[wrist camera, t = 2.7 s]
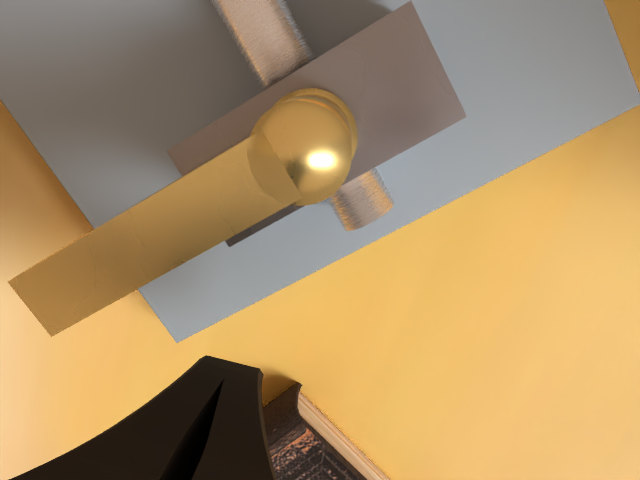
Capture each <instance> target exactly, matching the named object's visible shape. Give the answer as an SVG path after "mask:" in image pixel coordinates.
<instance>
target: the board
mask: <svg viewBox="0 0 640 480" xmlns="http://www.w3.org/2000/svg"><path fill="white" fill-rule="evenodd" d="M409 1H410V0H285V2H286V4H287V6H288V7H289V9H290V11H291V13H292V15H293V17H294V18H295V20H296V22H297V24H298V26H299V28H300V29H301V31H302V33H303V35H304V37H305V39H306V40H307V42H308V44H309V46H310V48H311V50H312V51H313V53H314V55H315V57H316V58H318V57H319V56H321V55H323V54H324V53H326V52H328V51H329V50H331V49H332V48H334V47H336V46H337V45H339V44H341V43H342V42H344V41H345V40H347V39H349V38H350V37H352V36H354V35H355V34H357V33H358V32H360V31H362V30H363V29H365V28H367V27H368V26H370V25H371V24H373V23H375V22H376V21H378V20H380V19H381V18H383V17H384V16H386V15H388V14H389V13H391V12H393V11H394V10H396V9H397V8H399V7H401V6H402V5H404V4H406V3H407V2H409ZM411 1H412V3H413V5H414V7H415V9H416V12H417V14H418V16H419V18H420V20H421V22H422V24H423V26H424V28H425V30H426V32H427V34H428V36H429V39H430V41H431V43H432V45H433V47H434V49H435V51H436V53H437V55H438V57H439V59H440V61H441V63H442V66H443V68H444V70H445V72H446V74H447V76H448V78H449V80H450V82H451V84H452V86H453V88H454V90H455V93H456V95H457V97H458V99H459V101H460V103H461V105H462V107H463V109H464V111H465V113H466V115H467V117H466V118H464V119H462V120H460V121H458V122H457V123H455V124H453V125H451V126H449V127H448V128H446V129H444V130H442V131H440V132H438V133H437V134H435V135H433V136H431V137H429V138H428V139H426V140H424V141H422V142H420V143H418V144H417V145H415V146H413V147H411V148H409V149H407V150H406V151H404V152H402V153H400V154H398V155H397V156H395V157H393V158H391V159H389V160H387V161H386V162H384V163H382V164H380V165H378V166H377V167H376V169H377V171H378V172H379V174H380V176H381V178H382V180H383V182H384V183H385V185H386V187H387V189H388V191H389V193H390V194H391V196H392V198H393V200H394V202H395V203H394V205H393V207H392V208H391V209H390V210H389V211H388V212H387V213H385V214H384V215H383V216H381V217H380V218H378V219H377V220H375V221H373V222H372V223H370V224H368V225H366V226H364V227H361V228H359V229H356V230H352V231H345V230H344V228H343V226H342V225H341V223H340V221H339V220H338V218H337V216H336V214H335V213H334V211H333V209H332V208H331V206H330V204H329V202H328V201H327V199H325V200H323V201H321V202H319V203H316V204H312V205H306V206H304V207H302V208H300V209H298V210H296V211H295V212H293V213H291V214H289V215H287V216H285V217H284V218H282V219H280V220H278V221H276V222H275V223H273V224H271V225H269V226H267V227H265V228H264V229H262V230H260V231H258V232H256V233H254V234H253V235H251V236H249V237H247V238H245V239H244V240H242V241H240V242H238V243H236V244H234V245H233V246H231V247H229V246H228V245H227V243H226V242H225V241H223V242H222V243H220V244H218V245H216V246H214V247H213V248H211V249H209V250H207V251H205V252H204V253H202V254H200V255H198V256H196V257H194V258H193V259H191V260H189V261H187V262H185V263H184V264H182V265H180V266H178V267H176V268H175V269H173V270H171V271H169V272H167V273H166V274H164V275H162V276H160V277H158V278H157V279H155V280H153V281H151V282H149V283H148V284H146V285H144V286H142V287H140V288H138V290H139V292H140V293H141V294H142V296H143V297H144V298H145V300H146V301H147V303H148V304H149V305H150V307H151V308H152V309H153V311H154V312H155V314H156V315H157V316H158V318H159V319H160V321H161V322H162V323H163V325H164V326H165V327H166V329H167V330H168V332H169V333H170V334H171V336H172V337H173V338H174V340H175V341H176V343H178V342H180V341H182V340H184V339H186V338H188V337H189V336H191V335H193V334H195V333H197V332H199V331H201V330H203V329H205V328H207V327H209V326H211V325H213V324H215V323H217V322H219V321H221V320H222V319H224V318H226V317H228V316H230V315H232V314H234V313H236V312H238V311H240V310H242V309H244V308H246V307H248V306H250V305H252V304H254V303H255V302H257V301H259V300H261V299H263V298H265V297H267V296H269V295H271V294H273V293H275V292H277V291H279V290H281V289H283V288H285V287H287V286H288V285H290V284H292V283H294V282H296V281H298V280H300V279H302V278H304V277H306V276H308V275H310V274H312V273H314V272H316V271H318V270H320V269H321V268H323V267H325V266H327V265H329V264H331V263H333V262H335V261H337V260H339V259H341V258H343V257H345V256H347V255H349V254H351V253H353V252H354V251H356V250H358V249H360V248H362V247H364V246H366V245H368V244H370V243H372V242H374V241H376V240H378V239H380V238H382V237H384V236H385V235H387V234H389V233H391V232H393V231H395V230H397V229H399V228H401V227H403V226H405V225H407V224H409V223H411V222H413V221H415V220H417V219H418V218H420V217H422V216H424V215H426V214H428V213H430V212H432V211H434V210H436V209H438V208H440V207H442V206H444V205H446V204H448V203H450V202H451V201H453V200H455V199H457V198H459V197H461V196H463V195H465V194H467V193H469V192H471V191H473V190H475V189H477V188H479V187H481V186H483V185H484V184H486V183H488V182H490V181H492V180H494V179H496V178H498V177H500V176H502V175H504V174H506V173H508V172H510V171H512V170H514V169H516V168H517V167H519V166H521V165H523V164H525V163H527V162H529V161H531V160H533V159H535V158H537V157H539V156H541V155H543V154H545V153H547V152H548V151H550V150H552V149H554V148H556V147H558V146H560V145H562V144H564V143H566V142H568V141H570V140H572V139H574V138H576V137H578V136H580V135H581V134H583V133H585V132H587V131H589V130H591V129H593V128H595V127H597V126H599V125H601V124H603V123H605V122H607V121H609V120H611V119H613V118H614V117H616V116H618V115H620V114H622V113H624V112H626V111H628V110H630V109H632V108H634V107H636V106H638V105H640V94H639V91H638V88H637V86H636V83H635V81H634V78H633V75H632V73H631V70H630V68H629V65H628V62H627V60H626V57H625V55H624V52H623V49H622V47H621V44H620V42H619V39H618V36H617V34H616V31H615V29H614V26H613V23H612V21H611V18H610V16H609V13H608V10H607V8H606V5H605V3H604V0H411ZM261 92H263V89H262V87H261V86H260V84H259V82H258V81H257V79H256V77H255V75H254V74H253V72H252V70H251V69H250V67H249V65H248V63H247V62H246V60H245V58H244V57H243V55H242V53H241V51H240V50H239V48H238V46H237V45H236V43H235V41H234V39H233V38H232V36H231V34H230V32H229V31H228V29H227V27H226V26H225V24H224V22H223V20H222V19H221V17H220V15H219V14H218V12H217V10H216V8H215V7H214V5H213V3H212V2H211V0H0V100H1V101H2V103H3V104H4V105H5V107H6V108H7V109H8V111H9V112H10V114H11V115H12V116H13V118H14V119H15V120H16V122H17V123H18V125H19V126H20V127H21V129H22V130H23V131H24V133H25V134H26V136H27V137H28V138H29V140H30V141H31V143H32V144H33V145H34V147H35V148H36V149H37V151H38V152H39V154H40V155H41V156H42V158H43V159H44V160H45V162H46V163H47V165H48V166H49V167H50V169H51V170H52V171H53V173H54V174H55V176H56V177H57V178H58V180H59V181H60V183H61V184H62V185H63V187H64V188H65V189H66V191H67V192H68V194H69V195H70V196H71V198H72V199H73V200H74V202H75V203H76V205H77V206H78V207H79V209H80V210H81V212H82V213H83V214H84V216H85V217H86V218H87V220H88V221H89V223H90V224H91V225H92V227H93V228H94V229H95V228H96V227H98V226H100V225H101V224H103V223H105V222H106V221H108V220H110V219H111V218H113V217H115V216H117V215H118V214H120V213H122V212H123V211H125V210H127V209H128V208H130V207H132V206H133V205H135V204H137V203H138V202H140V201H142V200H143V199H145V198H147V197H148V196H150V195H152V194H153V193H155V192H157V191H158V190H160V189H162V188H163V187H165V186H167V185H168V184H170V183H172V182H173V181H175V180H177V179H178V178H180V177H182V175H181V173H180V172H179V170H178V169H177V167H176V166H175V164H174V162H173V161H172V159H171V158H170V156H169V155H168V153H167V152H166V151H167V150H168V149H170V148H172V147H173V146H175V145H176V144H178V143H180V142H181V141H183V140H185V139H186V138H188V137H189V136H191V135H193V134H194V133H196V132H198V131H199V130H201V129H202V128H204V127H206V126H207V125H209V124H211V123H212V122H214V121H215V120H217V119H219V118H220V117H222V116H224V115H225V114H227V113H228V112H230V111H232V110H233V109H235V108H237V107H238V106H240V105H241V104H243V103H245V102H246V101H248V100H250V99H251V98H253V97H254V96H256V95H258V94H259V93H261Z"/></svg>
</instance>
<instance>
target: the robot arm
mask: <svg viewBox="0 0 640 480" xmlns="http://www.w3.org/2000/svg"><path fill="white" fill-rule="evenodd" d="M262 378H263V373H262V372H261V370H260V369H259V368H255V367H251V366H247V365H243V364H239V363H235V362H231V361H227V360H223V359H219V358H215V357H211V356H207V355H206V356H204V357H202V358H200V359H199V360H198V361H197V362H196V363H195V364H194V365H193V366H192V367H191V368H190V369H189V370H187V371H186V372H185V373H184V374H183V375H182V376H181V377H179V378H178V379H177V380H176V381H174V382H173V383H172V384H171V385H170V386H168V387H167V388H166V389H164V390H163V391H162V392H161V393H159V394H158V395H157V396H155V397H154V398H153V399H152V400H150V401H149V402H148V403H146V404H145V405H143V406H142V407H141V408H139V409H138V410H136V411H135V412H133V413H132V414H130V415H129V416H127V417H126V418H124V419H123V420H121V421H120V422H118V423H117V424H116V425H114V426H112V427H111V428H109V429H108V430H106V431H104V432H103V433H101V434H99V435H98V436H96V437H94V438H93V439H91V440H89V441H87V442H85V443H84V444H82V445H80V446H78V447H77V448H75V449H73V450H71V451H69V452H67V453H65V454H63V455H61V456H59V457H57V458H55V459H53V460H51V461H49V462H47V463H45V464H43V465H41V466H38V467H36V468H34V469H32V470H30V471H28V472H26V473H23V474H21V475H19V476H17V477H14V478H12V479H9V480H277V478H276V474H275V471H274V467H273V463H272V459H271V455H270V451H269V446H268V441H267V436H266V430H265V424H264V418H263V410H262V395H261V387H262Z"/></svg>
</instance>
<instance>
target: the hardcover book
mask: <svg viewBox="0 0 640 480" xmlns="http://www.w3.org/2000/svg"><path fill="white" fill-rule="evenodd" d="M301 386H302V385H301V384H300V383H296V384H294V385H293V386H292V387H290V388H289V389H288V390H286V391H285V392H284V393H282V394H281V395H280V396H278V397H277V398H276V399H274V400H273V401H272V402H270V403H269V404H268V405H266V406H265V407H264V408H262V410H263V418H264V424H265V430H266V436H267V441H268V446H269V451H270V455H271V459H272V463H273V467H274V471H275V474H276V478H277V480H390V479H389V478H388V477H387V476H386V475H385V474H384V473H383V472H382V471H381V470H379V469H378V468H377V467H376V466H375V465H374V464H373V463H372V462H371V461H370V460H369V459H368V458H367V457H366V456H365V455H364V454H363V453H362V452H361V451H360V450H359V449H358V448H357V447H356V446H355V445H354V444H353V443H352V442H351V441H350V440H349V439H348V438H347V437H346V436H345V435H344V434H343V433H342V432H341V431H339V430H338V429H337V428H336V427H335V426H334V425H333V424H332V423H331V422H330V421H329V420H328V419H327V418H326V417H325V416H324V415H323V414H322V413H321V412H320V411H319V410H318V409H317V408H316V407H315V406H314V405H313V404H312V403H311V402H310V401H309V400H308V399H307V398H306V397H305V396H304V395H303V394H302V393H301V392H300V388H301Z"/></svg>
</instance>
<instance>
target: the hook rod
mask: <svg viewBox="0 0 640 480" xmlns="http://www.w3.org/2000/svg"><path fill="white" fill-rule="evenodd" d="M211 2H212V3H213V5H214V7H215V8H216V10H217V12H218V14H219V15H220V17H221V19H222V20H223V22H224V24H225V26H226V27H227V29H228V31H229V32H230V34H231V36H232V38H233V39H234V41H235V43H236V45H237V46H238V48H239V50H240V51H241V53H242V55H243V57H244V58H245V60H246V62H247V63H248V65H249V67H250V69H251V70H252V72H253V74H254V75H255V77H256V79H257V81H258V82H259V84H260V86H261V87H262V89H263V91H264V90H266V89H267V88H269V87H271V86H272V85H274V84H276V83H277V82H279V81H280V80H282V79H284V78H285V77H287V76H289V75H290V74H292V73H293V72H295V71H297V70H298V69H300V68H302V67H303V66H305V65H306V64H308V63H310V62H311V61H313V60H315V59H316V57H315V55H314V53H313V51H312V50H311V48H310V46H309V44H308V42H307V40H306V39H305V37H304V35H303V33H302V31H301V29H300V28H299V26H298V24H297V22H296V20H295V18H294V17H293V15H292V13H291V11H290V9H289V7H288V6H287V4H286V2H285V0H211ZM327 201H328V202H329V204H330V206H331V208H332V209H333V211H334V213H335V214H336V216H337V218H338V220H339V221H340V223H341V225H342V226H343V228H344V230H345V231H352V230H356V229H359V228H361V227H364V226H366V225H368V224H370V223H372V222H373V221H375V220H377V219H378V218H380V217H381V216H383V215H384V214H385V213H387V212H388V211H389V210H390V209H391V208H392V207H393V205H394V203H395V202H394V200H393V198H392V196H391V194H390V193H389V191H388V189H387V187H386V185H385V183H384V182H383V180H382V178H381V176H380V174H379V172H378V171H377V169H376V167H375V168H373V169H371V170H369V171H367V172H366V173H364V174H362V175H360V176H358V177H356V178H355V179H353V180H351V181H349V182H347V183H346V184H344V185H342V186H341V187H340V188H339V189H338V190H337V191H336V192H335V193H334V194H333V195H332V196H330V197H329V198H327Z"/></svg>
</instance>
